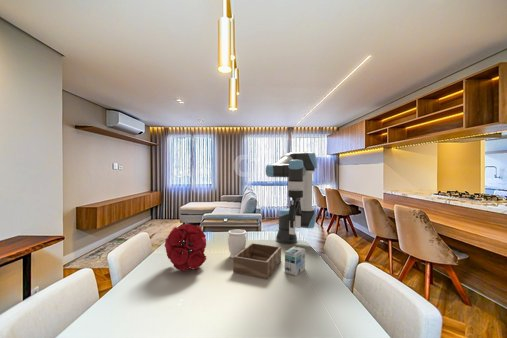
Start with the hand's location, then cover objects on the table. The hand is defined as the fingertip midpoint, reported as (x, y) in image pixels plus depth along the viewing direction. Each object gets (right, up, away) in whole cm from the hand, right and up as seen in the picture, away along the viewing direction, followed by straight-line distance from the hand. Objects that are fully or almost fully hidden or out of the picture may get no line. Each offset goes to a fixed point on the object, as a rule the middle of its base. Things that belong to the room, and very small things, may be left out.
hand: (295, 230), depth 121 cm
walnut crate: (-19, -20, +5) cm, 28 cm away
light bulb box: (0, -21, 0) cm, 21 cm away
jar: (-31, -20, +19) cm, 42 cm away
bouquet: (-56, -20, +4) cm, 60 cm away
